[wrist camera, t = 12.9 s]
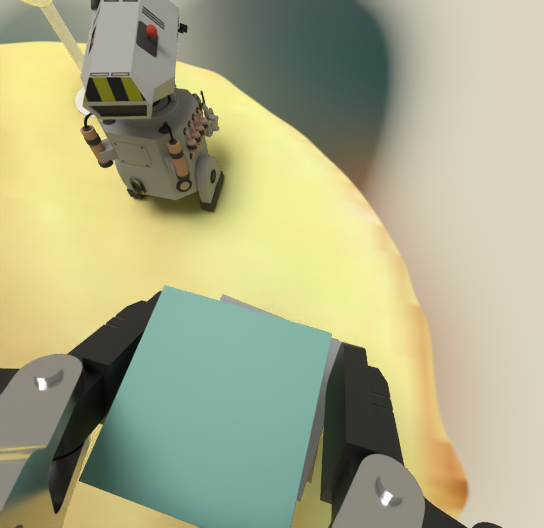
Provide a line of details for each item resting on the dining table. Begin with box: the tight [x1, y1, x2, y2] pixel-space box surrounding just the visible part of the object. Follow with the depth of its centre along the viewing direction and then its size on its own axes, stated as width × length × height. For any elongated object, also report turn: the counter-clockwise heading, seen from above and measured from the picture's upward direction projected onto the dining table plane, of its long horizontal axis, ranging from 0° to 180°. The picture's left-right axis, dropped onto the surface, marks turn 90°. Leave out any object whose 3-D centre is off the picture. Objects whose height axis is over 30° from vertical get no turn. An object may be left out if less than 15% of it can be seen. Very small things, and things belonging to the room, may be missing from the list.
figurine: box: [81, 0, 224, 211], centre depth 25 cm, size 9×12×15 cm
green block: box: [79, 285, 332, 528], centre depth 12 cm, size 5×5×10 cm
